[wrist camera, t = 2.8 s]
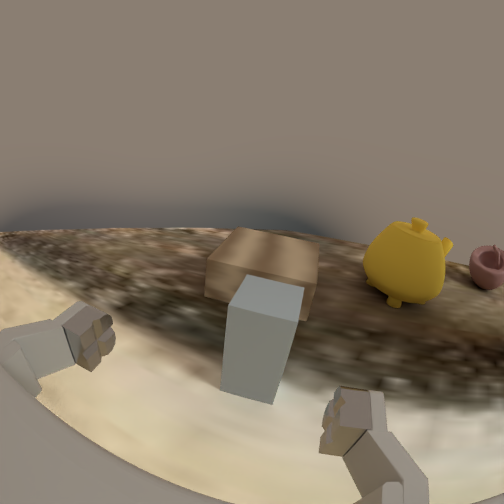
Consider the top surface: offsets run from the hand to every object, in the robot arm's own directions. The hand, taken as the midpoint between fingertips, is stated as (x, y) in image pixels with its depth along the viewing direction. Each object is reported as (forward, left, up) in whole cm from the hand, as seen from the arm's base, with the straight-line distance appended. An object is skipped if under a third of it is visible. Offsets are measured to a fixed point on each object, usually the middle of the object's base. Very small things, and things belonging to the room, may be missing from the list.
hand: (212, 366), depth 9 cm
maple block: (-8, -30, -15) cm, 35 cm away
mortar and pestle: (-64, -32, -15) cm, 73 cm away
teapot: (-34, -30, -15) cm, 48 cm away
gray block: (-4, -12, -15) cm, 19 cm away
